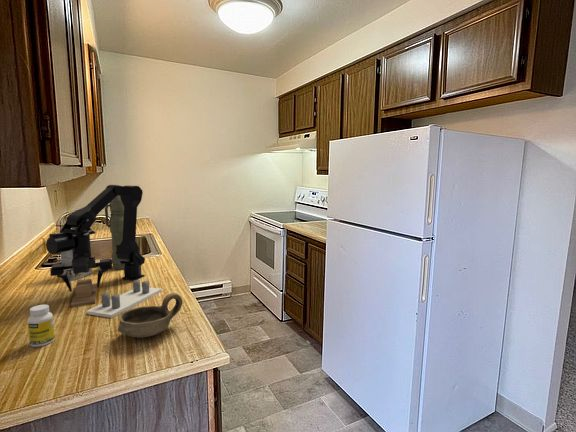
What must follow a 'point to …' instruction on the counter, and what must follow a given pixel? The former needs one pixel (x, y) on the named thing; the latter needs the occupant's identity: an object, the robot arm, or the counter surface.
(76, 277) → the coffee box
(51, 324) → the supplement bottle
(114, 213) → the thermos
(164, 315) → the bowl
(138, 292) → the peg stand
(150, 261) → the counter surface
